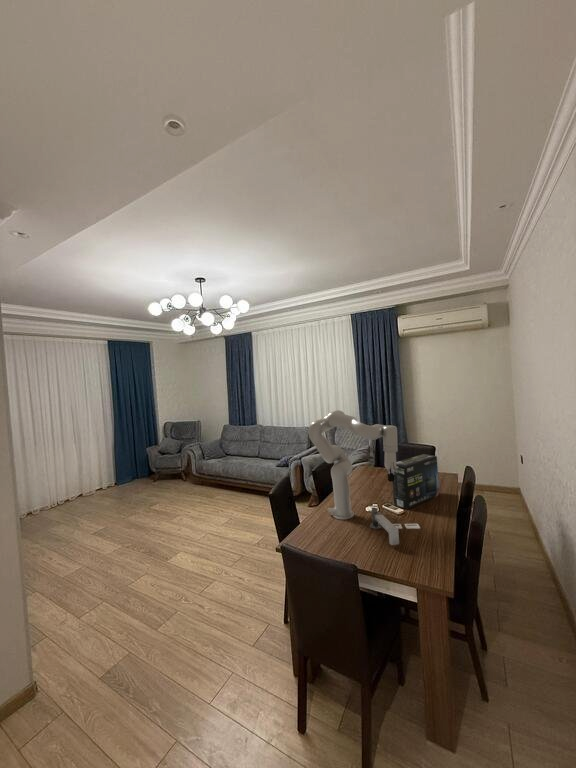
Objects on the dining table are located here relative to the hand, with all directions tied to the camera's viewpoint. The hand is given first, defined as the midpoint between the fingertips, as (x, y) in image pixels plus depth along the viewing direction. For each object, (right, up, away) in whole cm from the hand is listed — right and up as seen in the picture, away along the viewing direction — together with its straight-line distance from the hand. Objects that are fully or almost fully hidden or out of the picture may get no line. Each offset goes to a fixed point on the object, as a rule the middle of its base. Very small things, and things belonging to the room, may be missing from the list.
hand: (391, 481), depth 168 cm
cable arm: (-8, -22, -15) cm, 28 cm away
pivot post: (-9, -24, -3) cm, 26 cm away
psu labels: (+5, -23, -5) cm, 24 cm away
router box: (+27, -22, +29) cm, 45 cm away
